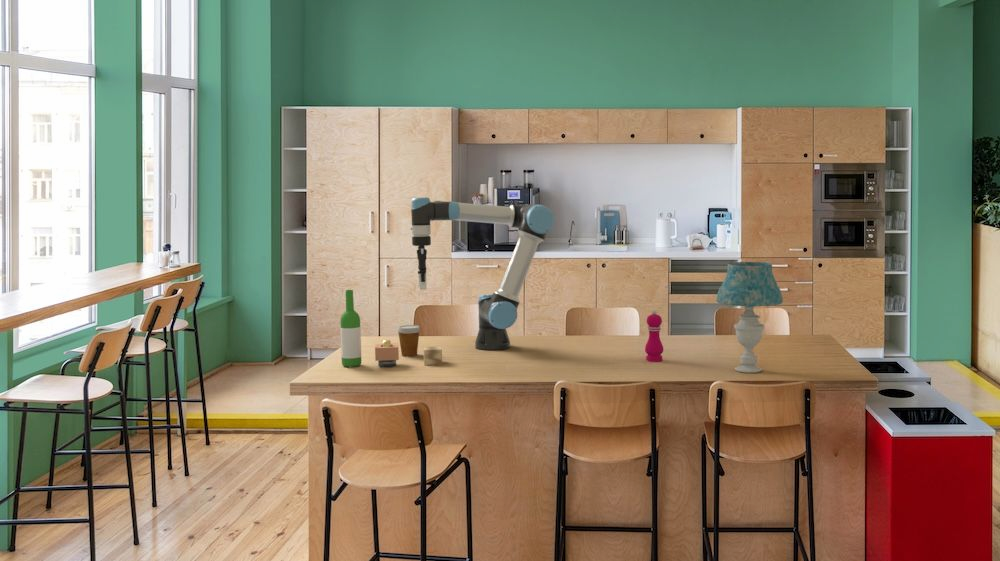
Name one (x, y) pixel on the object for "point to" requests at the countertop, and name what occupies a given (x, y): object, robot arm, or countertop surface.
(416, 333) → the disposable coffee cup
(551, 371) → the countertop surface
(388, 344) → the light bulb
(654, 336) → the pepper mill
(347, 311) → the wine bottle
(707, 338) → the countertop surface
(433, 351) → the stand
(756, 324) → the table lamp
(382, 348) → the square frame block
